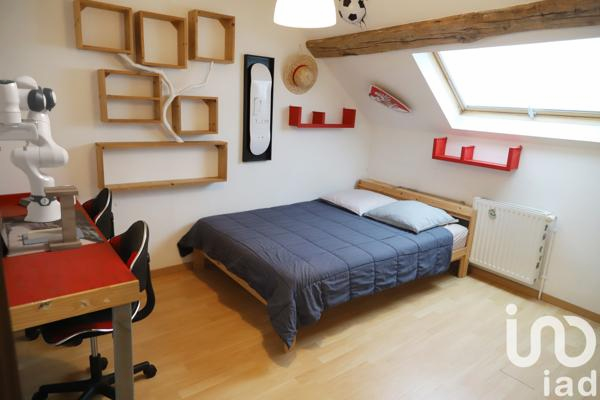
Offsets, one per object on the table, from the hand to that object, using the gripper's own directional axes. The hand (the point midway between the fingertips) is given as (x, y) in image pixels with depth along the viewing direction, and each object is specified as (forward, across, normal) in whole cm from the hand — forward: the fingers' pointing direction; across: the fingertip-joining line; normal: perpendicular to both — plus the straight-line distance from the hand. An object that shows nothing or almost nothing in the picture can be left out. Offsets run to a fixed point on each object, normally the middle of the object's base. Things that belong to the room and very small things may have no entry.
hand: (12, 150), depth 180 cm
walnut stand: (+41, -16, +16) cm, 47 cm away
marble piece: (+42, -10, -67) cm, 79 cm away
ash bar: (+41, -13, +1) cm, 43 cm away
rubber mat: (+41, -13, +1) cm, 43 cm away
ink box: (+42, -26, -59) cm, 76 cm away
